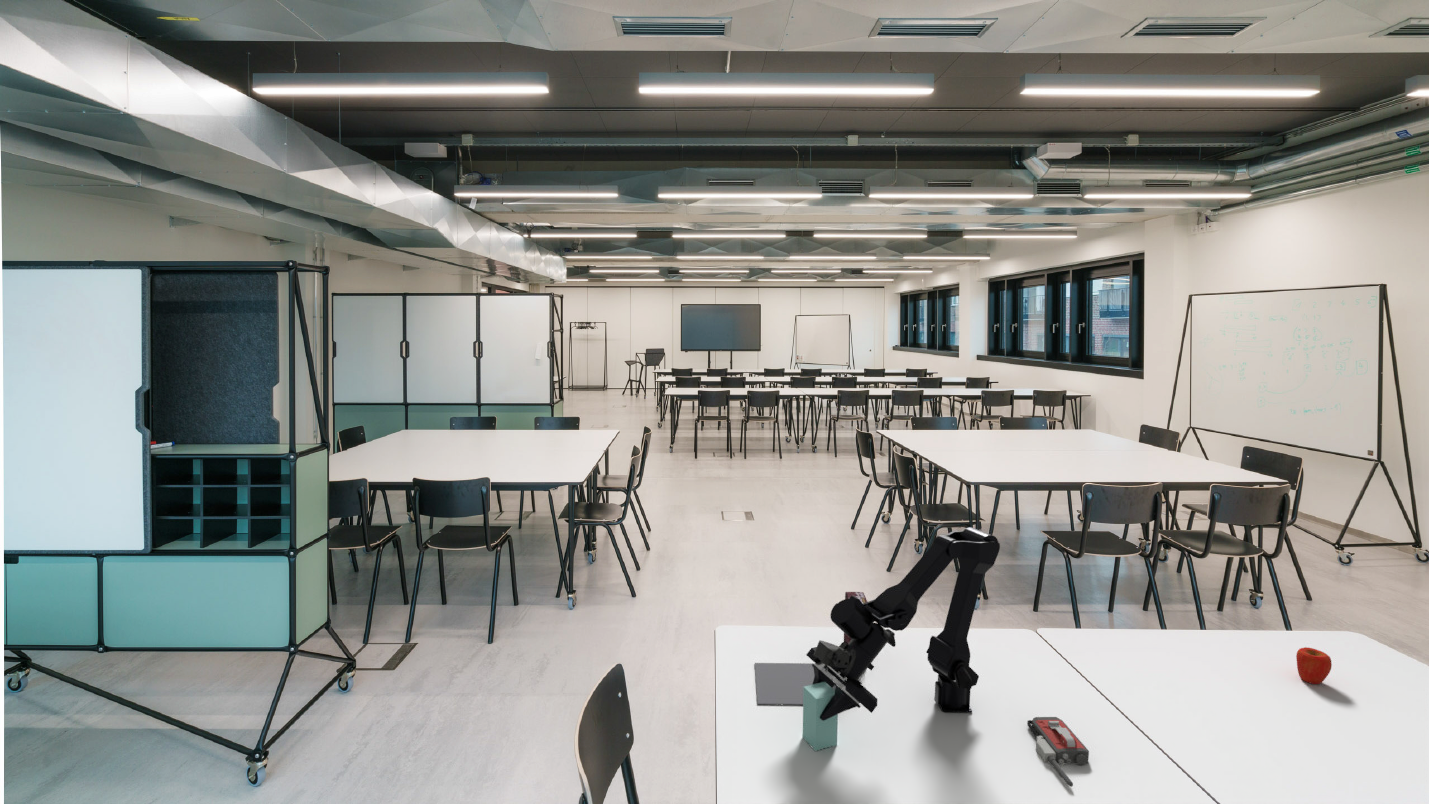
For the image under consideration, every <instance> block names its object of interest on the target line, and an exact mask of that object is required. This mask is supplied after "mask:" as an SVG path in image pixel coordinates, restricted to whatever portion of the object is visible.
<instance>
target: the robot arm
mask: <svg viewBox="0 0 1429 804" xmlns="http://www.w3.org/2000/svg"><path fill="white" fill-rule="evenodd" d="M1000 547H1001V543H1000V542H999V540H998V538H997V537H996V536H995V535H993V534H990V533H988V532H985V531H982V530H979V529H977V528H974V527H972V526H971V527H966V528H964V529H963V530H956V531H955V530H954V531H953V530H952V531H951V532H949V533H947V534H940V535H937V536H936V537H935V538H934V540H933V543H932V545H931V546H930V547H929V548H928V550H927V551H926V552H925V553H924V554H923V556H922V557H920V559H919V560H918V562H917V563H915V565H914V566H913V567H912V568H911V569H910V570H909V572H908V573H907V574H906V575H905V576H904V577H903V578H902V580H900V582H898V583H897V584H896V585H893V586H889V587H888V588H886V589H885V590H884V591H883V592H881V593H880V594H878V595H877V597H876V598H873V599H872V600H869V601H867V602H866V603H863V604H862V602H861V601H860V600H859V599H858V598H856V597H855V596H853V595H851V597H850V598H849V599H845V598H844V599H842V600H840V601H839V602H837V603H835V604H834V605H833V607H832V609H831V611H830V620H831V622H833V623H832V624H835V626H837V628H838V629H840V630H841V631H842V632H843V634H844V633H845V634H846V635H847V636H848V637H850V638H852V640H851V641H850V642H849V644H848V643H846V642H845V641H844V640H843V642H841V644H839V645H836V644H833V643H830V642H827V641H824V640H820V639H819V640H818V643H817V645H816V646H815V647H811V648H810V649H809V651H808V652H807V653H806V654H805V655H806V657H808V658H809V659H810V660H811V661H812V662H813V664H812V667H813V668H814V675H815V676H814V680H813V684H817V683H821V682H826V683H827V684H828V685H829V686H830V687H831V688H832V687H834V686H835V694H834V696H833V697H832V699H831V700H830V702H829V703H828V705H827V706H826V707H825V709H824V710H823V712H822V714H821V715H820V719H821V720H823V721H824V720H826V719H829V718H831V717H833V716H835V715H837V714H841V713H843V712H845V711H849V710H851V709H854V708H858V709H860V708H861V707H862V706H863V707H864V708H865V709H866V710H867V711H868V712H869V713H871V714H872V713H873V712H874V711H875V709H876V708H877V706H878V700H879V699H878V698H877V697H876V696H875V695H873V694H872V692H870V691H869V690H868V689H867V688H866V687H865V686H864V685H863V684H862V682H861V681H860V679H861V677H862V676H863V675H864V674H865V672H866V670H867V669H869V670H870V671H872V670H874V668H875V666H874V665H873V664H872V663H873V662H874V660H875V659H876V657H878V655H879V654H880V652H881V651H882V650H883V649H884V647H885V646H886V644H889V646H891V647H894V648H895V647H896V639H895V638H896V637H895V635H896V634H895V632H897V631H903V630H905V629H906V628H907V627H909V624H910V623H911V622H912V620H913V618H914V617H915V615H916V614H917V611H918V604H919V601H920V599H921V598H922V597H923V596H924V594H925V593H926V592H927V591H928V590H929V588H930V587H931V586H932V585H933V584H934V583H935V581H936V580H937V579H938V578H939V577H940V576H941V575H942V573H943V572H944V571H945V569H946V568H947V567H948V566H949V565H950V564H951V563H952V562H953V561H954V559H957V562H958V565H959V568H958V573H957V577H956V581H955V585H954V588H953V593H952V597H951V600H950V604H949V608H948V612H947V614H946V619H945V622H944V628H943V630H942V631H941V632H940V633H939V634H938V635H937V636H935V635H931V637H930V638H929V639H930V640H929V644H928V647H927V650H926V654H927V661H928V663H929V665H930V666H931V667H932V671H933V672H934V673H936V674H937V680H936V681H935V684H934V700H935V701H936V703H937V705H938V706H939V709H941V712H943V713H972V712H973V707H972V706H971V704H970V703H971V689H972V687H975V686H976V685H977V683H978V681H979V677H980V676H979V675H978V674H977V672H976V671H975V670H974V669H973V668H972V667H970V662H971V661H970V660H971V651H970V648H969V646H970V645H969V642H968V635H969V631H970V627H971V625H972V624H971V623H972V619H973V615H974V613H975V609H976V608H975V607H976V606H977V605H976V604H977V600H978V597H979V593H980V589H981V585H982V581H983V577H984V575H985V574H986V573H987V572H988V571H989V570H991V568H992V567H994V565H995V562H996V560H997V557H998V556H999V552H1000V549H1001V548H1000ZM886 628H887V629H886ZM894 631H895V632H894ZM814 664H815V665H814ZM833 677H834V678H835V679H836V681H838V682H839V683H840V684H842V685H843V686H842V688H841V687H839V685H838V684H837V683H835V682H834V680H833V681H832V680H831V678H833ZM845 678H846V679H845ZM813 684H812V685H813ZM861 705H862V706H861Z"/></svg>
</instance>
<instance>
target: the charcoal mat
mask: <svg viewBox="0 0 1429 804" xmlns="http://www.w3.org/2000/svg"><path fill="white" fill-rule="evenodd" d="M812 664H814V665H815V664H816V663H814V662H813V663H812V662H811V663H805V662H804V663H801V662H800V663H799V662H798V663H796V662H795V663H793V662H791V663H790V662H788V663H787V662H779V663H778V662H754V672H755V683H756V684H755V685H756V686H755V687H756V701H757V702H756V703H757V705H758V706H762V705H763V706H765V705H766V706H776V705H775V704H778V705H777V706H803V691H804V686H808V685H812V684H813V680H814V676H815V675H814V668H813V667H812ZM831 680H832V681H833V682H834V678H833V677H832V678H831ZM832 688H833V689H834V690H835V686H834V687H832ZM781 704H783V705H781Z"/></svg>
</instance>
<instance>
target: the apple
mask: <svg viewBox="0 0 1429 804" xmlns="http://www.w3.org/2000/svg"><path fill="white" fill-rule="evenodd" d="M1295 657H1296V666H1297V667H1296V668H1297V672H1298V676H1299V678H1300V679H1301V680H1303V681H1304V682H1306V683H1309V684H1312V685H1319V684H1321V683H1323V682H1324V681H1325V680H1326V678H1328V676H1329V674H1330V672H1331V670H1332V666H1333V664H1332V659H1331V656H1330V655H1328V654H1327V653H1326V652H1324V651H1321V650H1319V649H1316V648H1312V647H1301V648H1299V649H1298V650H1297V652H1296V656H1295Z"/></svg>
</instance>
